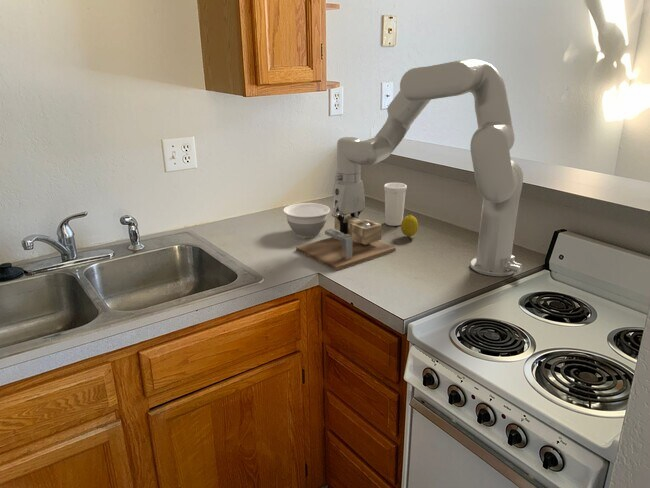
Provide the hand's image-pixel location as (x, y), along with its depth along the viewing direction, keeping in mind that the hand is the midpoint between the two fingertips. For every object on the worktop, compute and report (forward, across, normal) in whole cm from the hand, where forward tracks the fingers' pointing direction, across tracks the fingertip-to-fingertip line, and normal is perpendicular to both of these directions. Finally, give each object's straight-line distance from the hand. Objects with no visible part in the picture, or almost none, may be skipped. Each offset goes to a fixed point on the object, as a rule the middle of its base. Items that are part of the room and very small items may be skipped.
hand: (348, 231), depth 176 cm
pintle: (+2, 0, -8) cm, 9 cm away
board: (+3, -6, -6) cm, 10 cm away
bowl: (+3, -6, +14) cm, 16 cm away
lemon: (+3, +18, -10) cm, 21 cm away
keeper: (+2, -12, -9) cm, 15 cm away
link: (0, 0, -3) cm, 3 cm away
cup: (+3, +24, +2) cm, 24 cm away
